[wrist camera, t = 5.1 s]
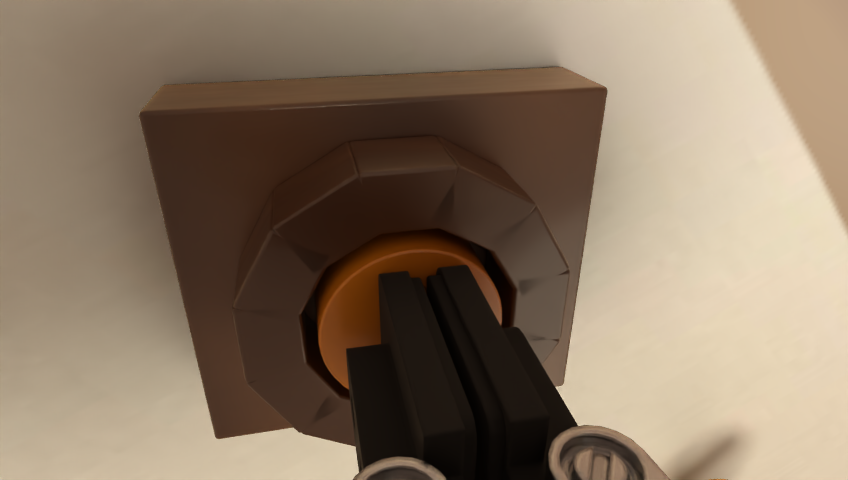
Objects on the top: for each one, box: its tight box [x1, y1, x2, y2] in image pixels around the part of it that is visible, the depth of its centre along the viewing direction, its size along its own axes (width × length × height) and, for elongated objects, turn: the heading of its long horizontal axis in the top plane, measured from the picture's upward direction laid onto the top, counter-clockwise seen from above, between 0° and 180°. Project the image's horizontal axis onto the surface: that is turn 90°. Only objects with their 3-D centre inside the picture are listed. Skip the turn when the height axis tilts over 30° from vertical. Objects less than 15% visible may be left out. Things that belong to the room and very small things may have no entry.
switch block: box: [139, 67, 607, 446], centre depth 13 cm, size 9×8×4 cm
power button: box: [315, 228, 502, 389], centre depth 12 cm, size 4×4×2 cm
